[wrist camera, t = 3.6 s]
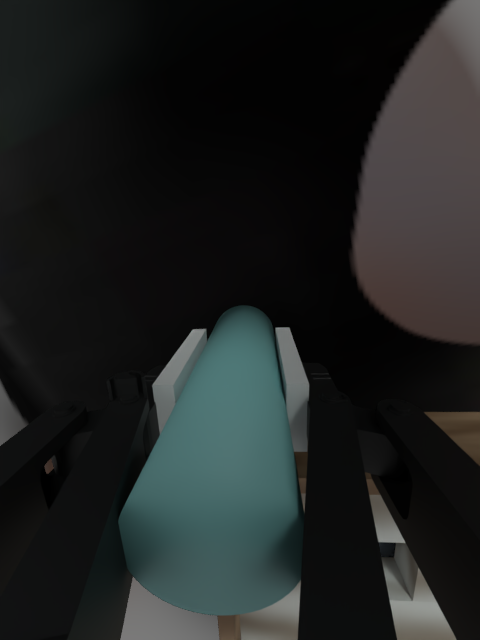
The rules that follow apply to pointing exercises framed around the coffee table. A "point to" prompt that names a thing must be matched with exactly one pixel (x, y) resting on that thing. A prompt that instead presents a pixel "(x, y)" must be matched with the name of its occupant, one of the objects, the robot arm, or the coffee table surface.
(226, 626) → the wooden box with hole
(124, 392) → the robot arm
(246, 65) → the coffee table surface
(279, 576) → the teal peg
